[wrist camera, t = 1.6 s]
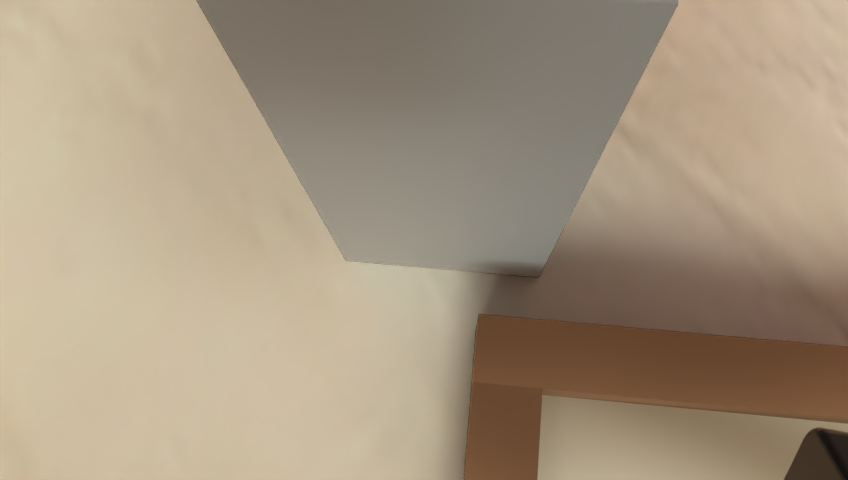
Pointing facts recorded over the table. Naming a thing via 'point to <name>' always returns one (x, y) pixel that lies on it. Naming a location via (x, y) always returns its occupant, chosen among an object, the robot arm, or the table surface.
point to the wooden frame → (643, 402)
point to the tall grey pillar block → (442, 115)
